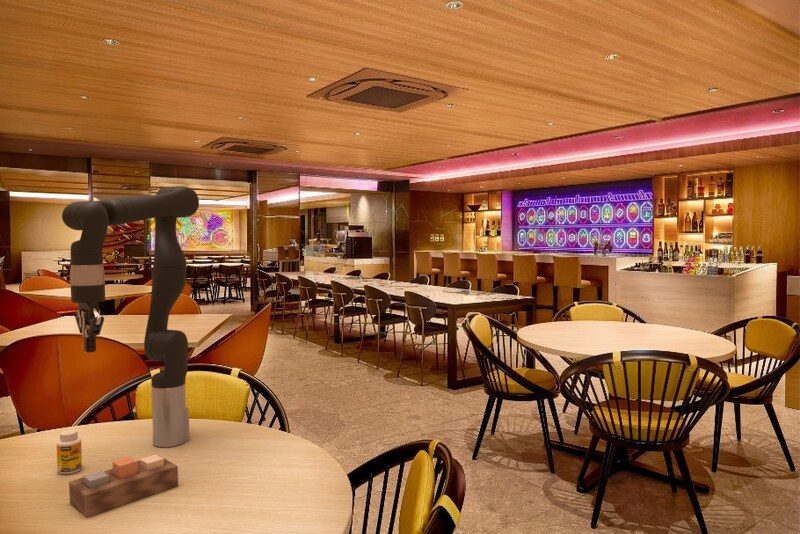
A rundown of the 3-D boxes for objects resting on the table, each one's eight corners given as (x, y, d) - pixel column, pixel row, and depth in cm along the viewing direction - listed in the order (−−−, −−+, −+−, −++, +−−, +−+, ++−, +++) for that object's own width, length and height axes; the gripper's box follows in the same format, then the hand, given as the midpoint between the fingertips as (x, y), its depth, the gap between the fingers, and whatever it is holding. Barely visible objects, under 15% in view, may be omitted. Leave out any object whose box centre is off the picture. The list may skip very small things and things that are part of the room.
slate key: (102, 487, 136) (101, 470, 135) (109, 492, 133) (108, 475, 133) (83, 492, 133) (83, 475, 132) (90, 498, 130) (89, 481, 130)
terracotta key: (130, 472, 140) (129, 456, 140) (137, 477, 138) (136, 461, 137) (112, 478, 137) (112, 461, 137) (120, 483, 135) (119, 466, 134)
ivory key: (156, 469, 145) (156, 454, 145) (164, 474, 143) (163, 458, 142) (140, 474, 142) (140, 459, 142) (148, 479, 140) (147, 463, 139)
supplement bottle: (58, 477, 147) (56, 437, 146) (56, 469, 152) (55, 431, 151) (83, 472, 150) (81, 433, 149) (81, 464, 155) (79, 426, 154)
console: (158, 474, 149) (158, 455, 149) (178, 485, 142) (177, 465, 142) (69, 502, 133) (68, 481, 133) (86, 517, 127) (85, 495, 126)
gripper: (114, 283, 143) (116, 353, 144) (93, 279, 151) (95, 345, 153) (81, 285, 137) (84, 358, 138) (61, 281, 146) (64, 350, 147)
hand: (90, 351), depth 145 cm, fingers closed
